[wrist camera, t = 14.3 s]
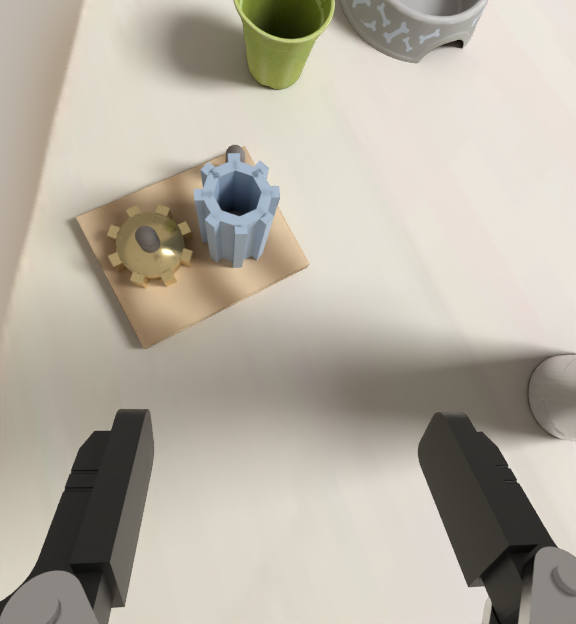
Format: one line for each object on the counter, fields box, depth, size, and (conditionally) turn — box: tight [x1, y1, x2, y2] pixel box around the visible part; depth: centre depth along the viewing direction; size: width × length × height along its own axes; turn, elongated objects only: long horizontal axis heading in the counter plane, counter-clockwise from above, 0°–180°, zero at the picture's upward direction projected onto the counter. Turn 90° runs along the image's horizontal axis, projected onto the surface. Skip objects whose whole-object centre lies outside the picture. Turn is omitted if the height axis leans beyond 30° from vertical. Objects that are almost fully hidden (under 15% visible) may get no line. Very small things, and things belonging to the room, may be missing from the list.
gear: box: [107, 204, 194, 288], centre depth 37 cm, size 8×8×2 cm
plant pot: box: [234, 0, 335, 89], centre depth 41 cm, size 9×9×9 cm
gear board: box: [76, 145, 309, 349], centre depth 37 cm, size 18×14×6 cm
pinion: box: [194, 153, 280, 268], centre depth 35 cm, size 6×6×10 cm
